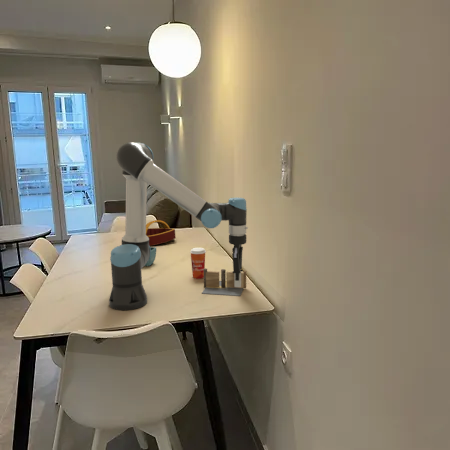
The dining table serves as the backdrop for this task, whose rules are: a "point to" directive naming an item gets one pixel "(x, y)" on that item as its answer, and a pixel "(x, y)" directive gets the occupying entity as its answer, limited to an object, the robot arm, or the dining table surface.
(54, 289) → the dining table surface
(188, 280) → the dining table surface
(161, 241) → the decorative basket
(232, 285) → the hinged fence panel
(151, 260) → the flower pot
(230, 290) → the board
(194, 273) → the paper cup
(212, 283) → the fixed fence panel and posts
